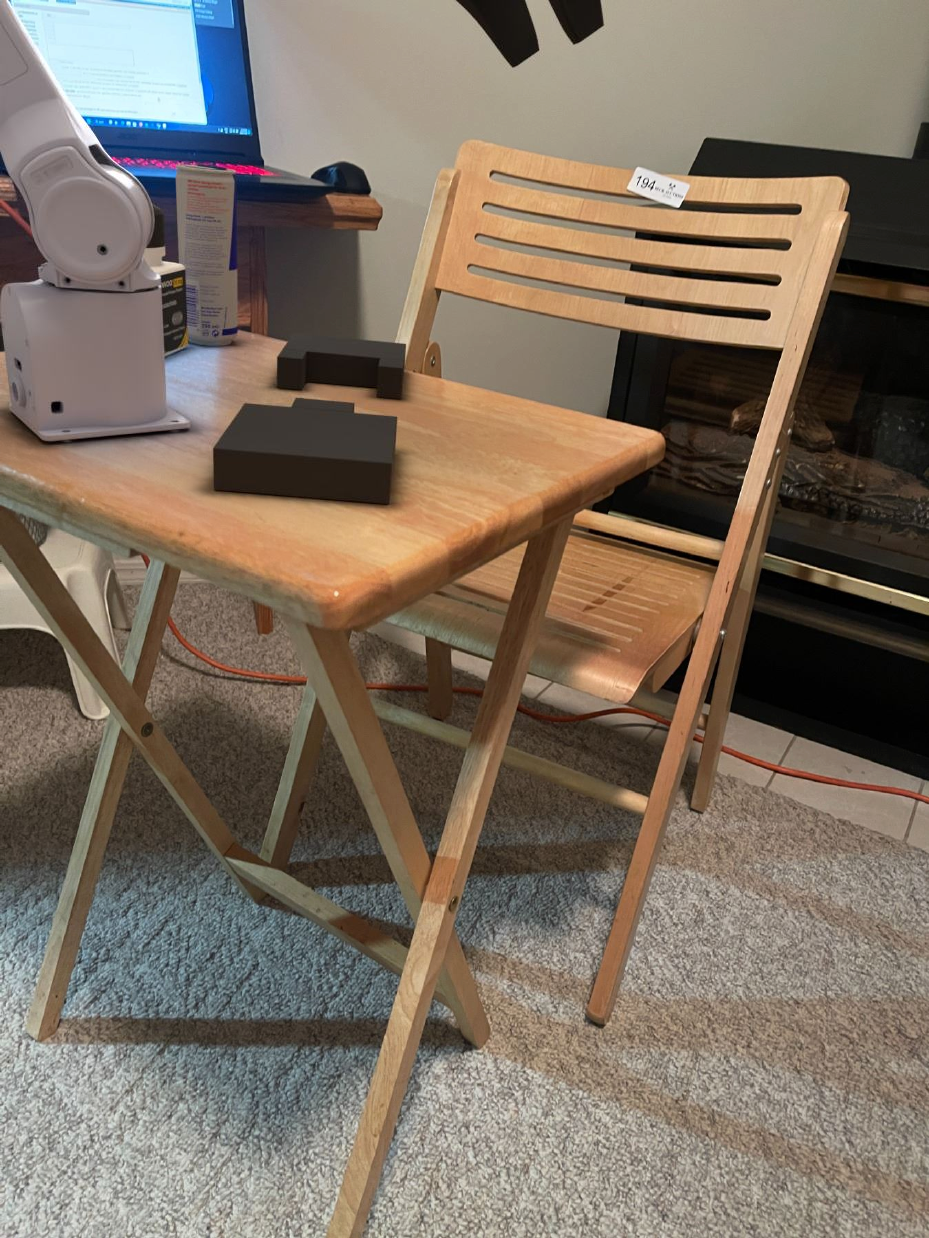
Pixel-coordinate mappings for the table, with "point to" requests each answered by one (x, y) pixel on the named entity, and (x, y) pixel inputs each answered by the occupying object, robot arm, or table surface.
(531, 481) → the table surface
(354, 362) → the pad
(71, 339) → the robot arm
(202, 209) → the beverage can
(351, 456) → the loose pad
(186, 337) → the black printed box
